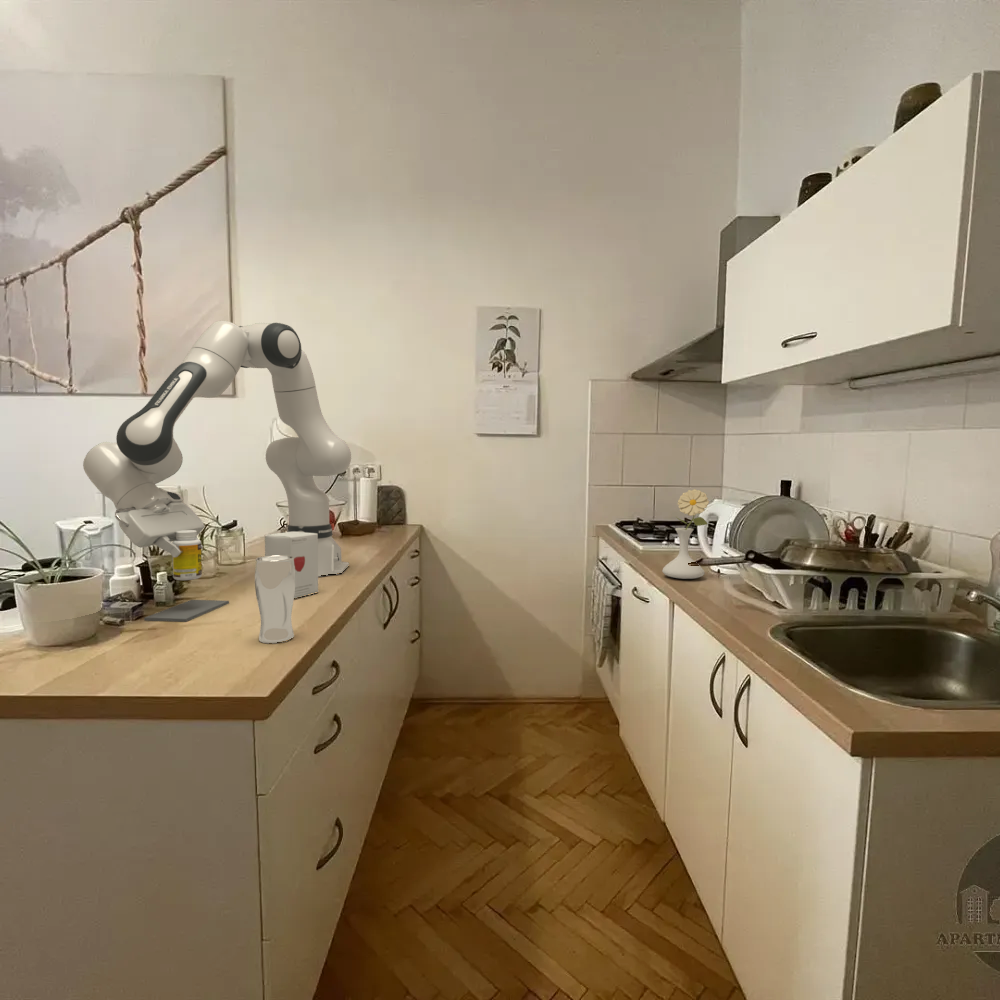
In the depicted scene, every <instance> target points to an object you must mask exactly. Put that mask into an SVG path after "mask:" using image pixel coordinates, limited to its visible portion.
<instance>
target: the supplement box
mask: <svg viewBox="0 0 1000 1000" xmlns="http://www.w3.org/2000/svg"><path fill="white" fill-rule="evenodd" d="M271 555H289V556H293V557H294V566H295V594H294V598H297V597H301V596H304V595H308V594H311V593H315V592H318V593H319V576H318V534H316V533H305V532H294V531H293V532H287V531H286V532H277V533H276V532H275V533H269V534H265V535H264V556H271ZM301 598H302V597H301ZM297 599H298V598H297Z"/></svg>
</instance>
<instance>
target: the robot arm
mask: <svg viewBox="0 0 1000 1000" xmlns="http://www.w3.org/2000/svg"><path fill="white" fill-rule="evenodd" d="M241 368H245V369H248V368H249V369H251V368H253V369H267V371H268V372H269V373H270V375H271V383H272V388H273V394H274V398H275V402H276V408H277V411H278V412H277V413H278V417H279V419H280V420H281V422H282V423H284V424H285V425H286V426H289V427H290V428H291V429H292V430H293V431H294V432H295V434H296V435H297V436H296V437H294V436H292V437H284V438H278V439H276V440H273V441H271V442H270V443H269V444H268V446H267V448H266V452H265V462H266V464H267V467H268V468H269V469H270V470H271V472H273V473H274V474H275V475H276V476H277V477H278V478H279V481H280V482H281V484H282V486H283V488H284V491H285V494H286V497H287V506H288V525H287V529H286V532H293V531H294V532H305V533H316V534H318V577H322V576H321V575H326V576H329V575H328V574H336V575H338V574H337V573H342V572H343V571H344V570H345V569H346V568H347V567H348V565H349V566H350V563H349V562H347V561H342V548H341V546H340V545H339V544H338V543H337V542H336V540H335V539H334V538H333V531H334V530H335V523H330V498H329V496H328V494H327V493H326V492H324V490H321V489H320V488H319V487H318V486H317V485H316V482H315V479H314V477H318V476H319V477H331V476H336V475H339V474H343V473H345V472H347V470H348V469H349V466H350V465H351V463H352V462H351V461H352V452H351V449H350V447H349V445H348V444H347V442H346V441H345V440H343V439H342V438H340V437H339V436H338V435H337V434H336V433H334V431H333V430H332V429H331V427H330V426H329V424H328V423H327V421H326V419H325V417H324V415H323V412H322V409H321V405H320V401H319V396H318V392H317V387H316V380H315V378H314V374H313V370H312V366H311V364H310V361H309V358H308V356H307V354H306V353H305V351H304V350H302V343H301V339H300V337H299V335H298V334H297V332H296V331H295V329H294V328H293V327H292V326H290V325H288V324H286V323H281V322H273V323H270V322H269V323H268V322H259V323H252V324H247V325H237V324H235V323H233V322H232V321H228V320H218V321H215V322H213V323H212V324H211V325H210V326H209V327H208V328H206V329H205V330H204V332H203V333H202V334H201V335H200V336H199V337H198V339H196V341H195V342H194V344H193V345H192V347H191V348H190V350H189V351H188V353H187V354H186V356H185V358H184V359H183V360H182V362H181V363H180V364H179V365H178V366H177V367H175V368H174V370H173V371H172V372H171V373H170V374H169V376H168V377H167V378H166V379H165V380H164V381H163V383H162V384H161V385H160V387H159V388H158V390H156V392H155V393H154V394H153V396H152V397H151V398H150V399H149V401H148V402H147V403H146V405H144V406H143V407H142V408H141V409H140V410H139V411H137V412H136V413H134V414H133V415H131V416H129V418H127V419H125V421H123V423H122V424H121V425H120V426H119V428H118V430H117V432H116V437H115V438H116V442H109V441H108V442H107V441H103V442H101V443H98V444H95V446H93V447H92V448H91V449H89V451H88V452H86V455H85V456H84V459H83V462H82V466H83V470H84V472H85V474H86V476H87V477H88V479H89V480H90V481H91V483H92V484H93V485H94V486H95V488H96V489H97V490H98V491H99V492H100V493H101V494H102V495H103V496H104V497H106V498H108V499H109V500H110V501H111V502H112V504H113V505H114V507H115V508H116V510H115V512H114V518H115V519H116V520H117V521H118V525H119V528H120V529H121V530H122V532H123V533H124V534H125V536H126V538H128V539H129V540H130V542H131V543H132V544H133V545H134V546H136V547H138V548H140V549H141V548H147V547H151V546H157V547H158V548H160V549H161V550H162V551H165V552H168V553H169V554H170V555H171V557H172V556H173V557H179V556H181V554H183V552H184V551H183V550H182V549H181V547H180V546H176V545H174V544H173V543H172V542H173V541H175V540H177V539H176V532H177V531H183V530H196V531H197V536H198V535H199V534H200V533H201V532H203V530H204V529H205V525H204V521H203V520H202V519H201V518H200V517H199V516H198V514H197V513H196V512H195V511H194V510H193V509H192V508H191V507H190V506H189V505H187V504H186V503H184V502H183V501H184V498H183V497H182V495H180V494H179V493H176V492H172V491H168V490H166V489H163V488H161V487H158V486H157V485H156V484H159V483H161V482H163V481H164V480H167V479H169V478H171V477H173V476H174V475H175V474H176V473H177V472H178V471H179V470H180V469H181V467H182V465H183V461H184V460H183V454H182V451H181V449H180V447H179V445H178V444H177V442H176V440H175V438H174V429H175V428H174V427H175V424H176V423H177V421H178V419H179V418H180V417H181V416H182V415H183V413H184V411H186V408H187V407H188V406H189V405H190V403H191V402H192V400H194V399H195V398H196V397H197V396H198V397H201V398H206V399H207V398H209V399H210V398H217V397H219V396H222V394H223V393H224V392H225V391H227V389H228V388H229V387H230V386H231V384H232V382H233V381H234V379H235V378H236V376H237V375H238V372H239V371H240V369H241ZM196 539H199V538H198V537H197V538H196ZM203 548H204V546H203V545H202V544H201V550H203ZM348 568H349V567H348ZM348 568H347V569H348ZM347 569H346V570H347ZM346 570H345V571H346ZM345 571H344V572H345ZM344 572H343V573H344ZM343 573H342V574H343Z"/></svg>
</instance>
